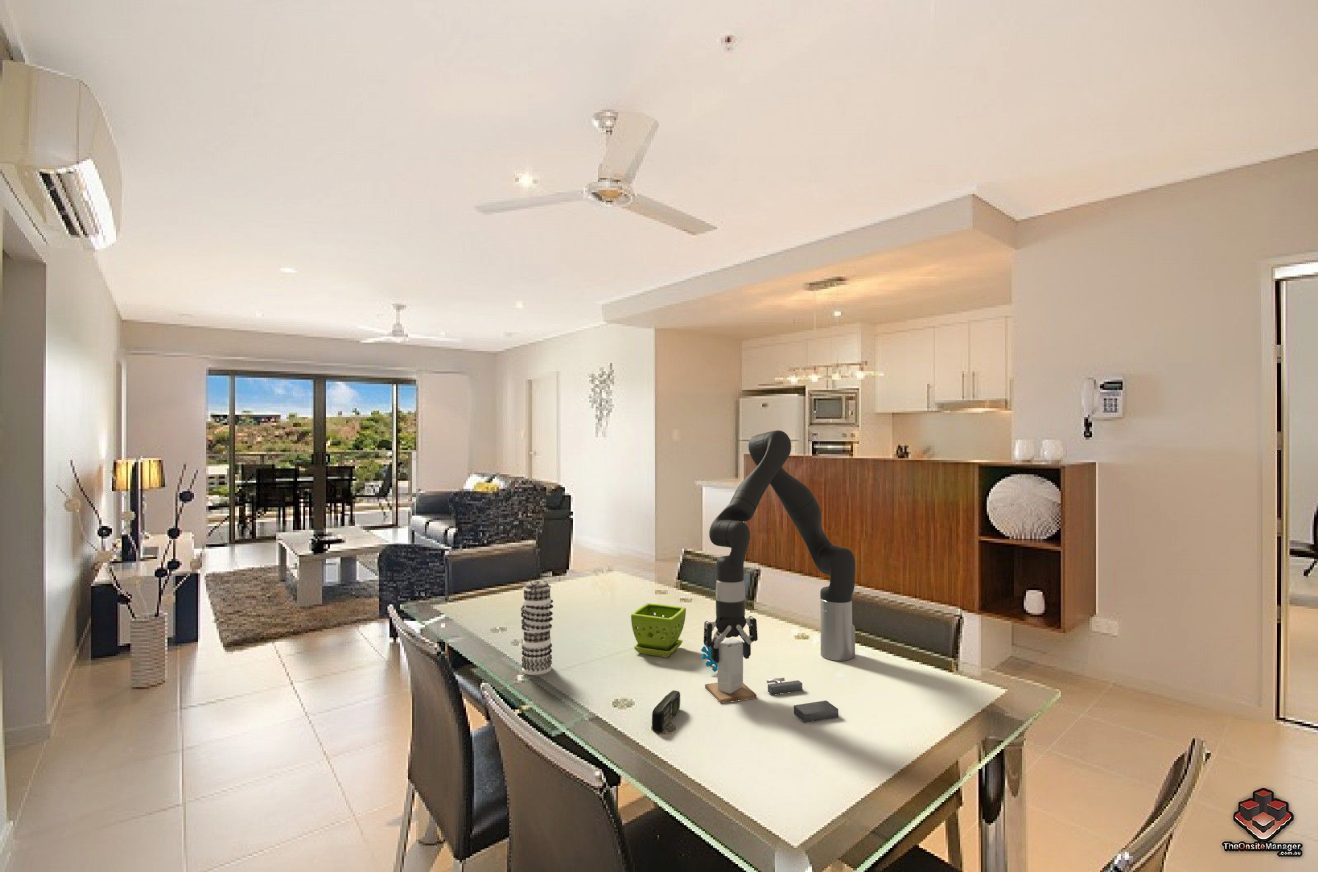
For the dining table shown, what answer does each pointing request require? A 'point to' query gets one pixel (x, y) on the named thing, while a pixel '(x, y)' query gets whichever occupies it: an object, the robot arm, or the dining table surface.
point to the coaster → (735, 696)
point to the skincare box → (730, 666)
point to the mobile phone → (665, 711)
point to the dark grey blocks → (804, 711)
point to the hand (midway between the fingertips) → (731, 659)
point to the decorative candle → (536, 628)
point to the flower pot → (658, 628)
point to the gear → (709, 657)
